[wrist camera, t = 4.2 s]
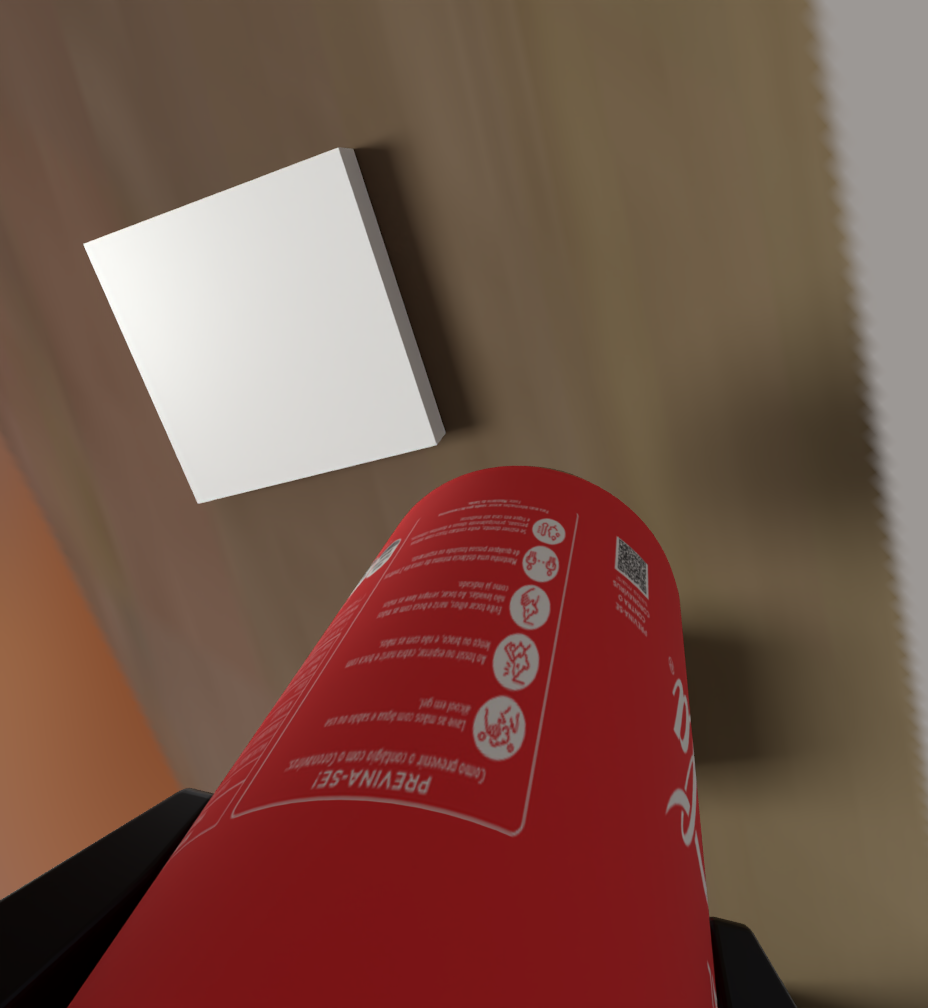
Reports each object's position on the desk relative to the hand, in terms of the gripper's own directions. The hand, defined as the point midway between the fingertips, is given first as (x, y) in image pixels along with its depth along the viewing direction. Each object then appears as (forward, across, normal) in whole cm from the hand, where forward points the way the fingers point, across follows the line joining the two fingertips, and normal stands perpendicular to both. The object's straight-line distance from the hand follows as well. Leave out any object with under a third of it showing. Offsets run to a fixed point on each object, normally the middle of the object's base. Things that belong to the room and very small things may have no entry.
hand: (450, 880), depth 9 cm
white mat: (+13, +8, -2) cm, 15 cm away
